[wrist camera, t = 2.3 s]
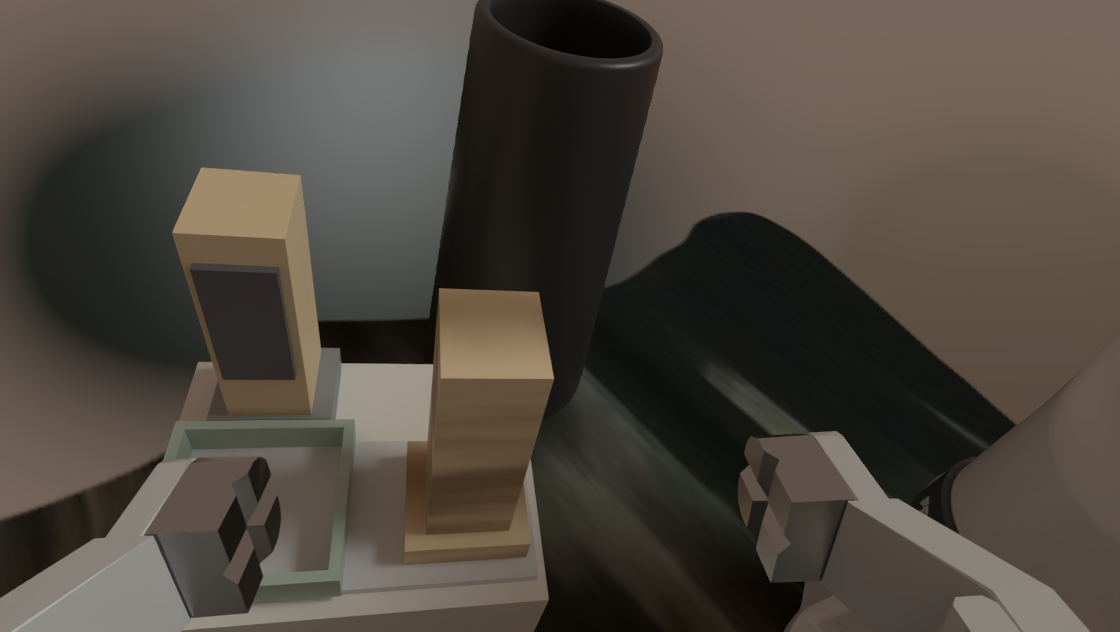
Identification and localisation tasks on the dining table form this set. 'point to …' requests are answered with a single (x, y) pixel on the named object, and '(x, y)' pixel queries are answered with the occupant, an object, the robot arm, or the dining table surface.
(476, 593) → the grey boxy piece
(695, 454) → the dining table surface
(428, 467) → the block
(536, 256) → the vase
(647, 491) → the dining table surface
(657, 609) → the dining table surface
